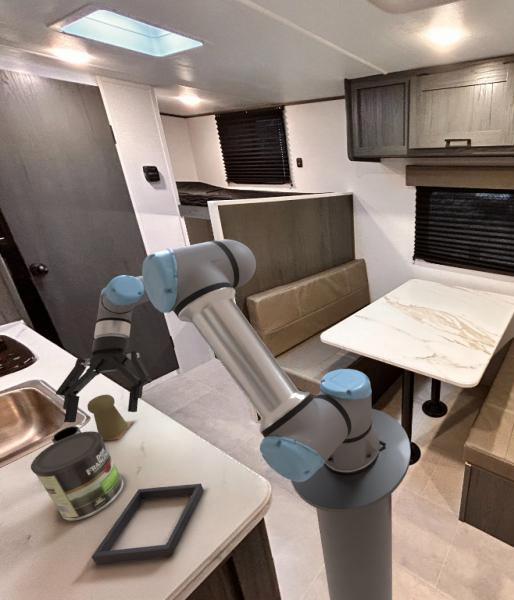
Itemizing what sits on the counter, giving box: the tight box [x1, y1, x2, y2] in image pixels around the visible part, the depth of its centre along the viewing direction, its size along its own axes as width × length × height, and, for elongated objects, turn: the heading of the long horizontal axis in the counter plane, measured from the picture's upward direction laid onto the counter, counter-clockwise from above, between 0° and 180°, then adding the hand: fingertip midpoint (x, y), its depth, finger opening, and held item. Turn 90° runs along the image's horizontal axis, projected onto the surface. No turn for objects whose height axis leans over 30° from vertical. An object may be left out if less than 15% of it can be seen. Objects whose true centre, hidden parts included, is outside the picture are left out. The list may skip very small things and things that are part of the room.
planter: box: [51, 425, 82, 444], centre depth 74 cm, size 4×4×10 cm
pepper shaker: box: [87, 394, 128, 439], centre depth 84 cm, size 6×6×11 cm
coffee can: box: [30, 430, 124, 521], centre depth 66 cm, size 10×10×14 cm
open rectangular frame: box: [91, 483, 205, 566], centre depth 64 cm, size 13×13×2 cm
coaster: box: [103, 421, 134, 442], centre depth 86 cm, size 6×6×1 cm
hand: (101, 416), depth 82 cm, fingers open, 13 cm apart
